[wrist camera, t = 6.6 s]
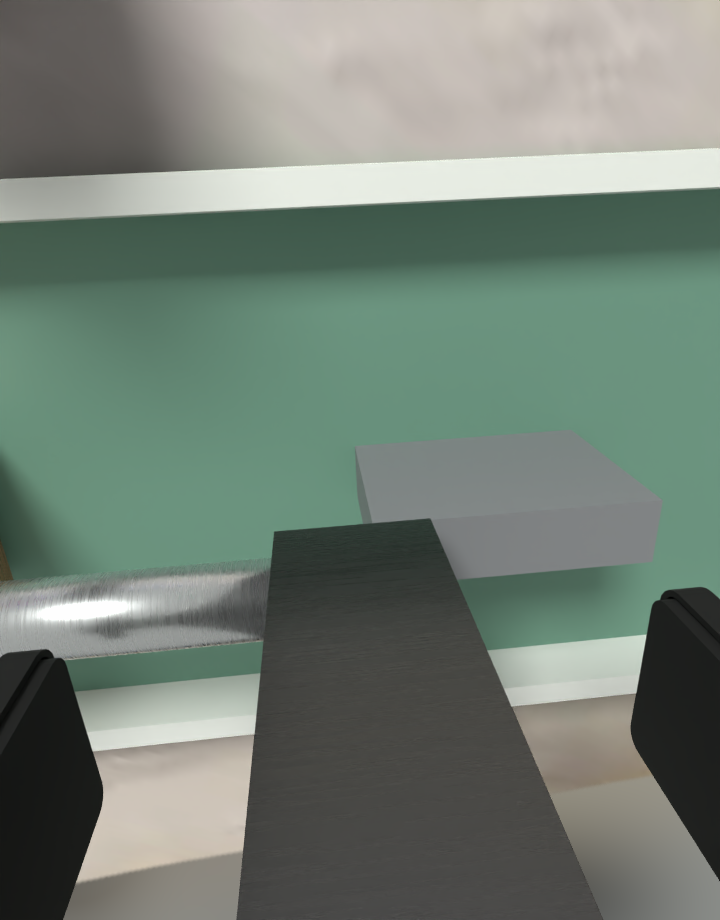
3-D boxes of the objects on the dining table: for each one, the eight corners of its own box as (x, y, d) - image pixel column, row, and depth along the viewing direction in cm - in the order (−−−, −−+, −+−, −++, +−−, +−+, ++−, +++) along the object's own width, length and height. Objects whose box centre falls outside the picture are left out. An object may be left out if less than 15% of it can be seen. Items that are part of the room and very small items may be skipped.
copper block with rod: (390, 392, 16) (619, 839, 4) (394, 551, 18) (561, 1153, 6) (-127, 428, 15) (-1562, 1111, 3) (-64, 591, 17) (-850, 1378, 5)
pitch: (826, 153, 16) (1104, 115, 10) (716, 625, 22) (854, 760, 17) (-548, 213, 14) (-1125, 206, 8) (-247, 721, 20) (-460, 915, 14)
